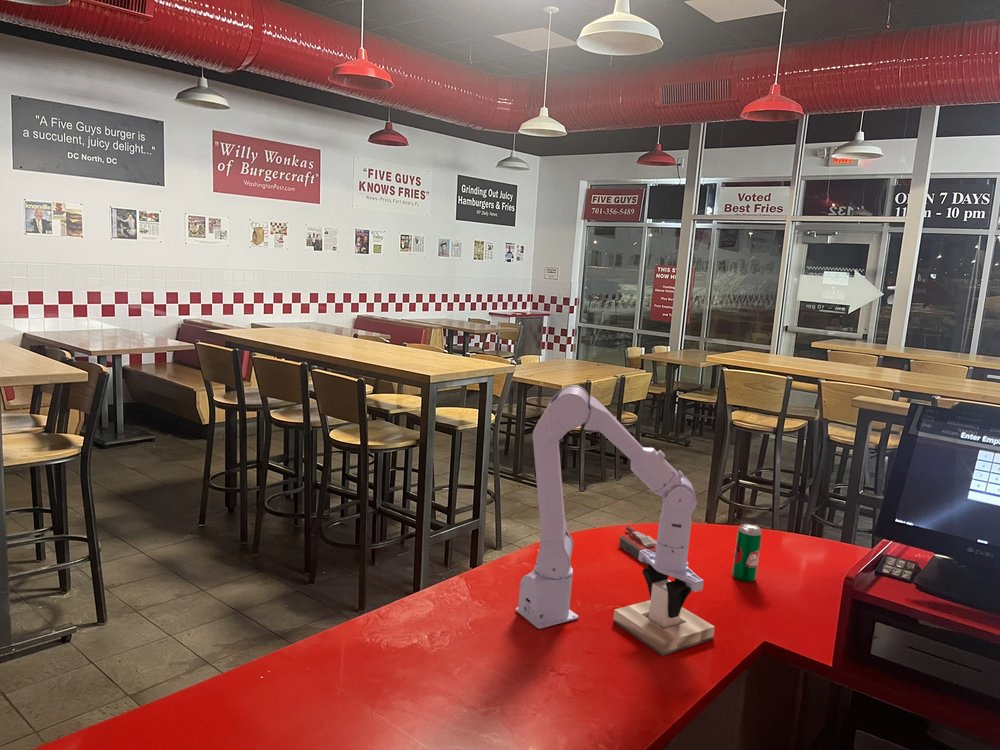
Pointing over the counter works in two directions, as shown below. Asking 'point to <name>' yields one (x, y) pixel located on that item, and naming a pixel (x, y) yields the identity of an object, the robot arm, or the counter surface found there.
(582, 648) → the counter surface
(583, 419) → the robot arm
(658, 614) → the white rectangular block
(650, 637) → the holder block
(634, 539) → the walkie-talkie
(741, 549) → the soda can
